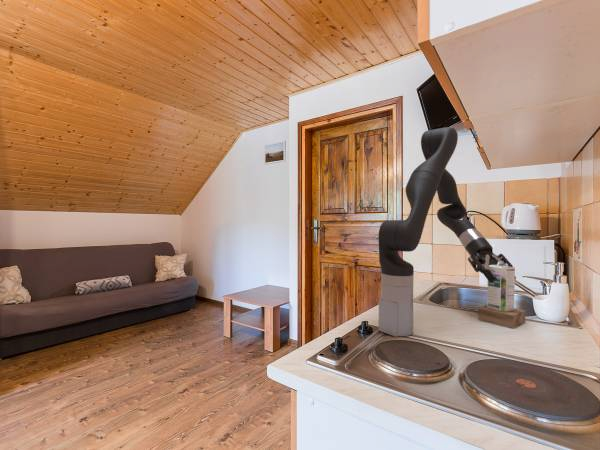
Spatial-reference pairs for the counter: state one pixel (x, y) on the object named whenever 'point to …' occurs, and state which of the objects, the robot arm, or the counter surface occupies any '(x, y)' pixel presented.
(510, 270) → the syrup box
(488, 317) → the walnut base
